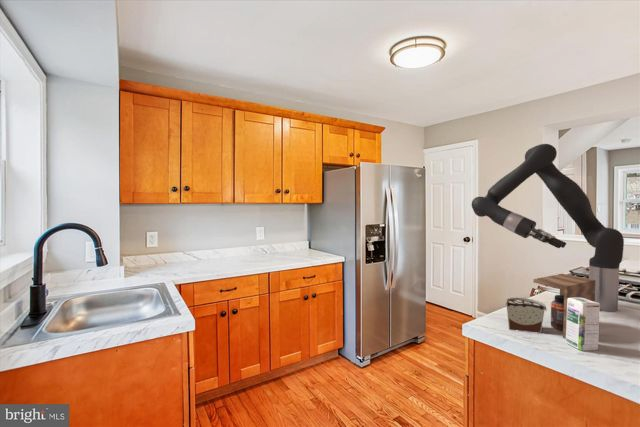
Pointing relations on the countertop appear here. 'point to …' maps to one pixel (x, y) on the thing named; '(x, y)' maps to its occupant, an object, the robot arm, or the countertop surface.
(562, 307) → the supplement bottle
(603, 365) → the countertop surface
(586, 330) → the syrup box
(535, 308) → the food container
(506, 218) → the robot arm
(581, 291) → the walnut cubby
